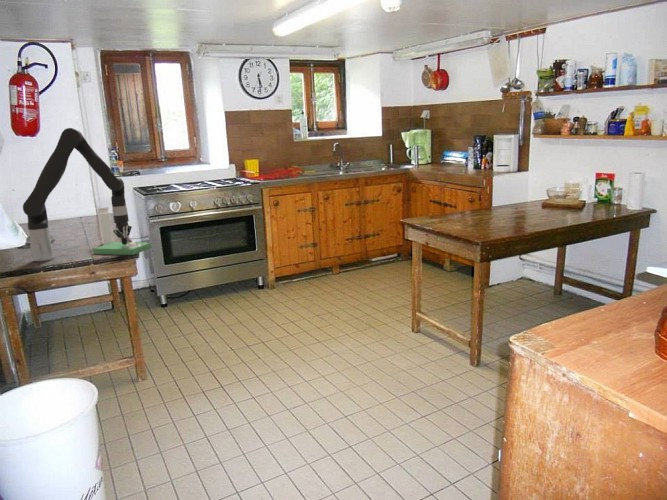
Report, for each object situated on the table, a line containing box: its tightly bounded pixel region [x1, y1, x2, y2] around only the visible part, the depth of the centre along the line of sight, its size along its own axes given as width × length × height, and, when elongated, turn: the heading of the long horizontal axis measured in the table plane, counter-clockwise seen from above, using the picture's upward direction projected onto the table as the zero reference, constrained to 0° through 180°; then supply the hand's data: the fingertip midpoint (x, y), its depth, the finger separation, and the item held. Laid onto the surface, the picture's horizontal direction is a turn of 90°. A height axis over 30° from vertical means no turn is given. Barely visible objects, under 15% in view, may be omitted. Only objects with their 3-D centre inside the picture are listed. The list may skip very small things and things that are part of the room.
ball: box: [128, 241, 137, 247], centre depth 276 cm, size 5×5×5 cm
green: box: [92, 241, 152, 256], centre depth 278 cm, size 16×26×3 cm, turn 74°
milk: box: [97, 207, 115, 245], centre depth 297 cm, size 6×6×22 cm
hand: (125, 244), depth 277 cm, fingers closed
